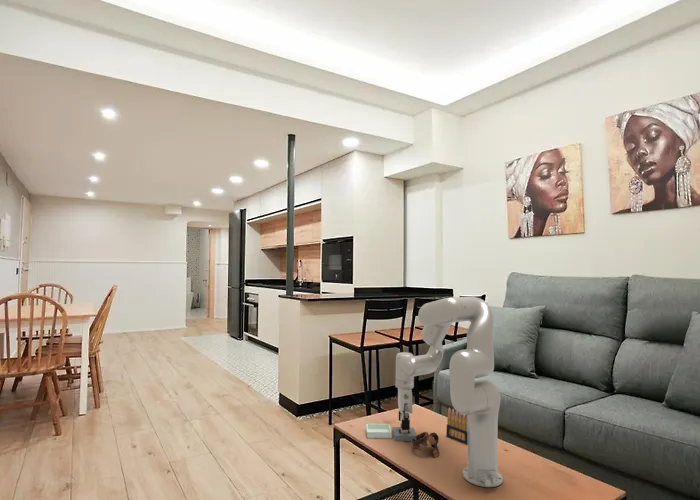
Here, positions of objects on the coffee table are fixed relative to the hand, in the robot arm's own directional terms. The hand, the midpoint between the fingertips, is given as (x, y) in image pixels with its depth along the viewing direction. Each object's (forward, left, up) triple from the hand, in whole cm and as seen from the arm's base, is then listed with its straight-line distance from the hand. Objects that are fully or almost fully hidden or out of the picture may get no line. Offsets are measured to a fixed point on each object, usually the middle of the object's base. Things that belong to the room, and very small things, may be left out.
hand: (403, 424), depth 168 cm
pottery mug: (-14, -7, -5) cm, 17 cm away
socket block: (0, 0, -5) cm, 5 cm away
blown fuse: (0, 0, -5) cm, 5 cm away
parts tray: (+2, +10, -5) cm, 11 cm away
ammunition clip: (-3, -22, -5) cm, 22 cm away
